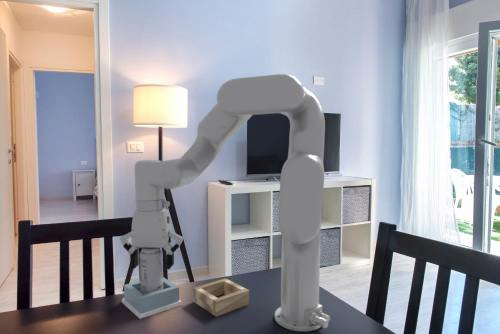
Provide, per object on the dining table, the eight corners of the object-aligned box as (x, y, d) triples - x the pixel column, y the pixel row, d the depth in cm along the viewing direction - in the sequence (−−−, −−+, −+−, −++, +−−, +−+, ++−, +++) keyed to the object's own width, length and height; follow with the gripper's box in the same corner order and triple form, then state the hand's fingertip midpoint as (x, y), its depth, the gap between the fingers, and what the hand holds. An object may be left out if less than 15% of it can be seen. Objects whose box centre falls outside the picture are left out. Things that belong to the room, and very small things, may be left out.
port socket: (181, 304, 98) (181, 287, 98) (139, 318, 91) (139, 299, 90) (161, 290, 108) (161, 274, 107) (121, 302, 100) (121, 284, 99)
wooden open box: (249, 304, 99) (249, 290, 99) (216, 316, 92) (216, 301, 92) (225, 291, 107) (225, 278, 107) (193, 301, 100) (193, 287, 100)
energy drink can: (164, 303, 97) (162, 249, 96) (140, 306, 95) (139, 251, 94) (162, 294, 103) (161, 242, 102) (140, 296, 101) (139, 244, 100)
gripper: (185, 203, 100) (186, 263, 101) (125, 203, 101) (127, 262, 103) (177, 208, 93) (179, 273, 94) (113, 208, 94) (115, 271, 95)
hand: (152, 267), depth 98 cm, fingers open, 9 cm apart
